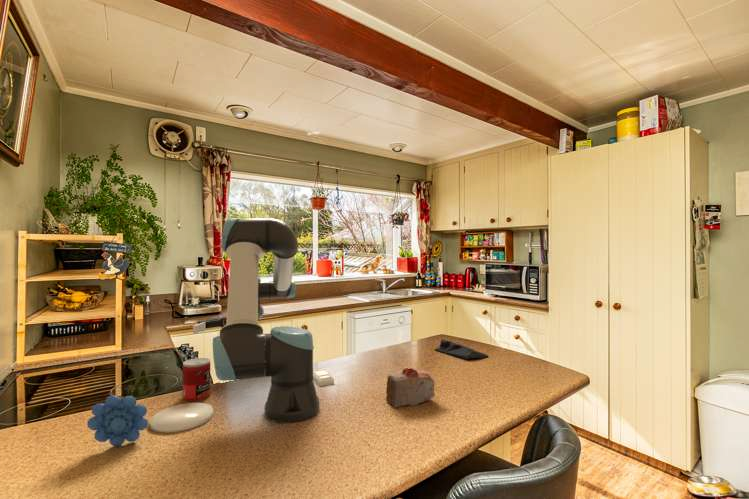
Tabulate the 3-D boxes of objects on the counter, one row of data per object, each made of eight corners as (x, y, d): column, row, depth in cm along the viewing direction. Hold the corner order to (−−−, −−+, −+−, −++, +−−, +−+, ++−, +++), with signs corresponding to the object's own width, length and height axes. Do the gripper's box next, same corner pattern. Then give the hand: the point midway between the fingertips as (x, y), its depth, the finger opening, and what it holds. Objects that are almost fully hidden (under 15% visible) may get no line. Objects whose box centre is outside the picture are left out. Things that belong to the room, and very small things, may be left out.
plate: (224, 414, 100) (224, 410, 100) (170, 438, 87) (170, 433, 87) (192, 402, 108) (192, 398, 108) (138, 423, 95) (138, 418, 95)
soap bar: (325, 376, 131) (325, 369, 131) (334, 384, 123) (333, 376, 123) (312, 379, 129) (311, 371, 129) (320, 387, 121) (320, 379, 121)
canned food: (199, 402, 108) (199, 365, 108) (176, 400, 110) (176, 364, 110) (215, 392, 116) (215, 358, 116) (194, 390, 117) (194, 357, 117)
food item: (422, 393, 115) (421, 362, 115) (436, 402, 108) (436, 369, 108) (384, 400, 109) (383, 368, 109) (397, 411, 102) (396, 376, 102)
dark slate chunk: (463, 363, 146) (463, 351, 147) (431, 350, 166) (431, 340, 166) (491, 358, 153) (491, 347, 153) (458, 346, 173) (458, 336, 173)
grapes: (84, 462, 77) (84, 406, 77) (88, 448, 83) (88, 395, 83) (148, 447, 83) (148, 395, 83) (148, 434, 89) (148, 385, 89)
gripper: (271, 328, 143) (248, 341, 122) (211, 327, 145) (178, 340, 124) (271, 309, 143) (248, 319, 122) (211, 308, 145) (178, 318, 124)
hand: (213, 330), depth 123 cm, fingers open, 13 cm apart
